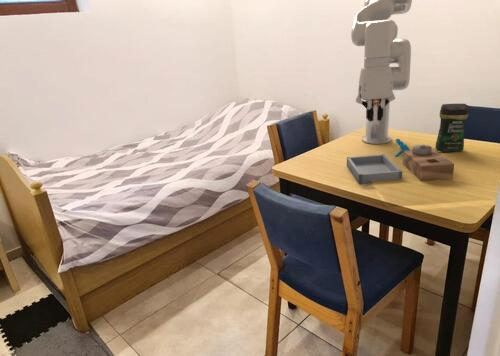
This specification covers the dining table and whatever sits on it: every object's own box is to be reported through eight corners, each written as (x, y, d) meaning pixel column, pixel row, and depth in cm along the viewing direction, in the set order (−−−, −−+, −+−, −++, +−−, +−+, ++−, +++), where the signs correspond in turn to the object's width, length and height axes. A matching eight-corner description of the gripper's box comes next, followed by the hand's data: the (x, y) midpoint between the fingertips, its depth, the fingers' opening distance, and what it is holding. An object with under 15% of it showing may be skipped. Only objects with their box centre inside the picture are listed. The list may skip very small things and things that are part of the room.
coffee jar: (438, 154, 142) (443, 106, 135) (433, 147, 149) (438, 102, 142) (465, 153, 139) (472, 105, 132) (459, 147, 146) (465, 101, 139)
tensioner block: (402, 166, 133) (403, 143, 130) (430, 164, 132) (432, 141, 129) (420, 183, 118) (423, 158, 115) (452, 181, 118) (455, 155, 114)
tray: (346, 165, 138) (346, 157, 137) (383, 163, 138) (384, 154, 137) (359, 184, 122) (359, 174, 120) (401, 181, 121) (402, 171, 120)
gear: (416, 159, 134) (397, 139, 135) (403, 169, 137) (384, 150, 138) (417, 153, 144) (399, 135, 145) (405, 163, 147) (387, 145, 148)
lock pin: (368, 137, 126) (369, 98, 121) (377, 136, 126) (378, 98, 121) (370, 139, 123) (371, 100, 118) (379, 138, 123) (381, 99, 118)
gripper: (398, 60, 119) (394, 116, 125) (348, 64, 120) (347, 119, 126) (406, 61, 112) (402, 120, 118) (354, 66, 113) (352, 124, 119)
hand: (374, 119), depth 122 cm, fingers closed on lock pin, 2 cm apart
